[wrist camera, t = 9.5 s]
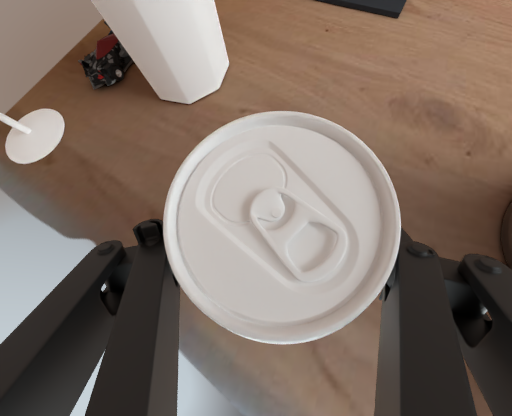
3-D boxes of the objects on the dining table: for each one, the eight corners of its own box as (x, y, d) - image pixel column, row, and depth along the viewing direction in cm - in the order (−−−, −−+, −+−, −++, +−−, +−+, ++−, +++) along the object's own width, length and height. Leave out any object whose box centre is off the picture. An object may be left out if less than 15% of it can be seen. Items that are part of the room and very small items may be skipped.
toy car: (160, 37, 31) (143, 3, 27) (111, 98, 28) (85, 71, 24) (130, 27, 32) (109, -6, 28) (81, 85, 30) (51, 57, 26)
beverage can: (277, 184, 19) (272, 62, 8) (347, 246, 17) (486, 205, 6) (214, 245, 18) (102, 211, 7) (279, 319, 16) (275, 451, 5)
